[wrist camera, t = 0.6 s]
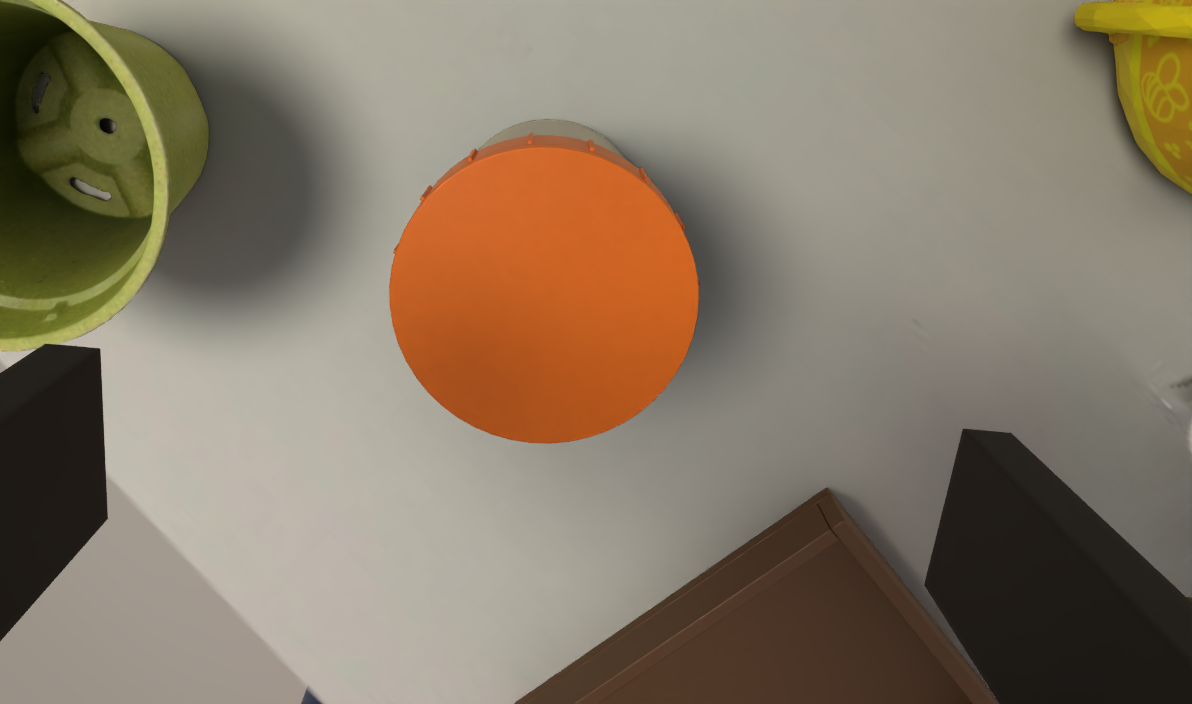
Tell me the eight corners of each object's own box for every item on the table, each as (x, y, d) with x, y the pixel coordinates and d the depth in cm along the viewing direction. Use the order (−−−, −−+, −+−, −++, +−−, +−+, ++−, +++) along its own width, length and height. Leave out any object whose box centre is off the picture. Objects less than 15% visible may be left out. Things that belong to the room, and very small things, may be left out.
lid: (527, 463, 28) (524, 498, 26) (340, 258, 26) (322, 279, 24) (745, 300, 27) (760, 324, 25) (568, 70, 25) (568, 76, 23)
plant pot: (304, 48, 32) (216, 66, 24) (214, 309, 35) (107, 405, 27) (7, -85, 31) (-195, -114, 22) (-63, 199, 33) (-266, 265, 25)
